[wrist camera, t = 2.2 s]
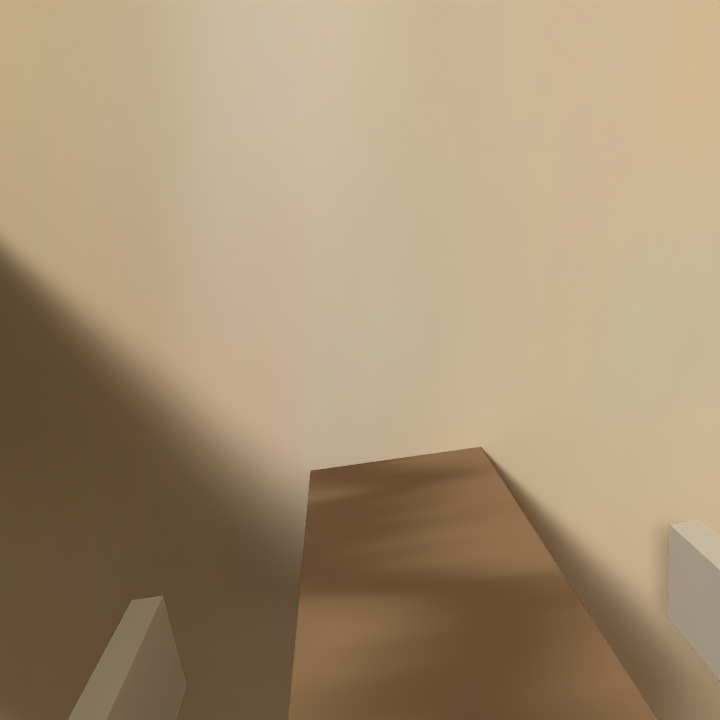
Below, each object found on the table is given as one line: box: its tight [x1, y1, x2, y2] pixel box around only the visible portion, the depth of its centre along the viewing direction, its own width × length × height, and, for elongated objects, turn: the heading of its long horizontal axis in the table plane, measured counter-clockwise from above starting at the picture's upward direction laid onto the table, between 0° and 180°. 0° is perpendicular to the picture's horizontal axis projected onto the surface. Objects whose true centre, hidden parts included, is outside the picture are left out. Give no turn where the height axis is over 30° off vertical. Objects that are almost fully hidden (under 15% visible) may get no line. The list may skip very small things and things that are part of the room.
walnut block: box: [288, 447, 658, 720], centre depth 10 cm, size 5×5×12 cm
